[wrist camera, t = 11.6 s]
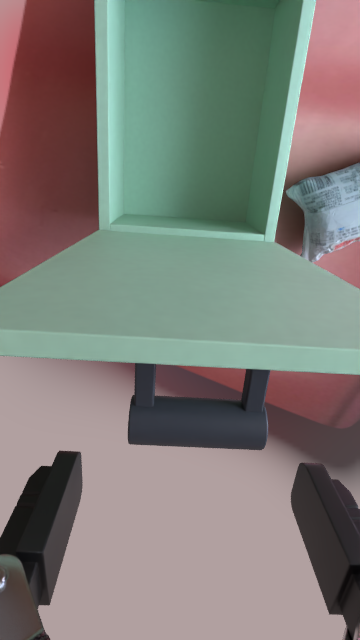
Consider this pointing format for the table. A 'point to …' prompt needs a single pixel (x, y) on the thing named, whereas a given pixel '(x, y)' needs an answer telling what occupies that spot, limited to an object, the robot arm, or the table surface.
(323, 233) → the packaged food
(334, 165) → the table surface
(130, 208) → the box
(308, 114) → the table surface
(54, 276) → the lid
